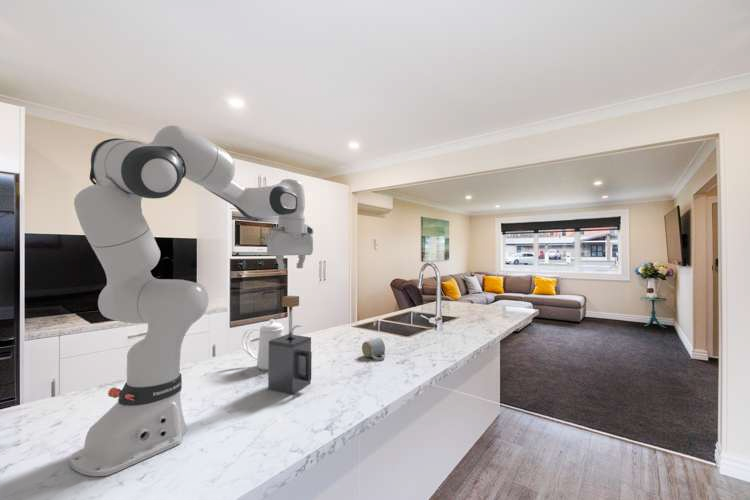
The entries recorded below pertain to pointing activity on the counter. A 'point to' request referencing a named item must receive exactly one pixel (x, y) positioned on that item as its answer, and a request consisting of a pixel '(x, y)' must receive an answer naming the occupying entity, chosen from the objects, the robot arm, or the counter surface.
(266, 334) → the coffeepot
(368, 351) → the ceramic mug
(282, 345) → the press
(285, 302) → the plunger
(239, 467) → the counter surface
